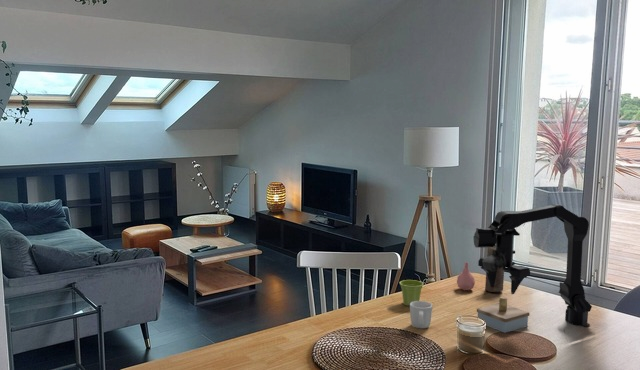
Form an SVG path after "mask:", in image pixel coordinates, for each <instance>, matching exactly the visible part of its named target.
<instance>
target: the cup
mask: <svg viewBox="0 0 640 370" xmlns="http://www.w3.org/2000/svg"><path fill="white" fill-rule="evenodd" d="M409 311H410V313H409V315H410V323H411V325H412V327H414V328H417V329H427V328H429V327H430V325H431V322H432V315H433V314H432V313H433V304H432V302H429V301H425V300H424V301H423V300H419V301H414V302H411V303H410V305H409Z"/></svg>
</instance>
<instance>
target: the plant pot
mask: <svg viewBox="0 0 640 370" xmlns="http://www.w3.org/2000/svg"><path fill="white" fill-rule="evenodd" d="M399 285H400V288H401V294H402V302H403V305H405V306H407V307H408V306H410V303H411V302H414V301H421V300H420V298H421V294H422V289H423V286H424V282H423V281H419V280H415V279H414V280H413V279H406V280H405V279H403V280H401V281H399Z"/></svg>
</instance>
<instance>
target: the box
mask: <svg viewBox="0 0 640 370" xmlns="http://www.w3.org/2000/svg"><path fill="white" fill-rule="evenodd" d="M478 317H479V318H481V319H483V320H485V322H486V325H485V326H487V327H490V328H492V329H494V330H497V331H500V332H502V333H509V332H511V331H516V330H519V329H522V328H525V327H528V321H529V316H527V317H523V318H520V319H516V320H513V321H509V322H506V323H505V322H503V321H500V320H497V319H495V318H492V317H489V316H487V315H484V314H482V313H479V312H477V318H478Z"/></svg>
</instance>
